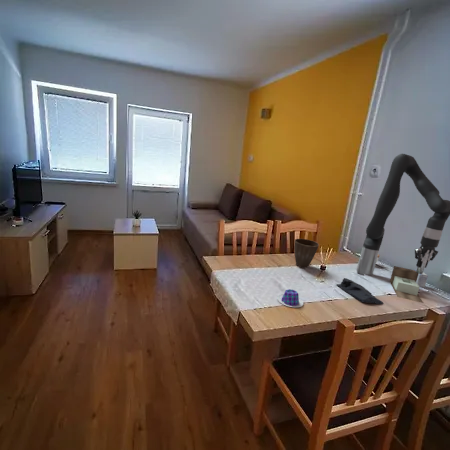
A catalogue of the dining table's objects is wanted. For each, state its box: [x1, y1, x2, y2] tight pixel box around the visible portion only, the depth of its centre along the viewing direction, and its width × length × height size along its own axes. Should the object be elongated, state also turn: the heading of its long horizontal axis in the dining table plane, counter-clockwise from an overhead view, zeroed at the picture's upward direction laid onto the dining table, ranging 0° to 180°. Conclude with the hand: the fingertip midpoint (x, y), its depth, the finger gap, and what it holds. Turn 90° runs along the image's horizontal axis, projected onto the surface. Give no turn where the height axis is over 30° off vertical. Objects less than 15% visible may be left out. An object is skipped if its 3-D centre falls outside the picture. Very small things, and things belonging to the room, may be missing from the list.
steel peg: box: [415, 253, 429, 274], centre depth 145 cm, size 3×3×12 cm
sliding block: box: [393, 276, 420, 295], centre depth 152 cm, size 10×10×5 cm
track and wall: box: [389, 265, 425, 304], centre depth 148 cm, size 12×22×11 cm, turn 158°
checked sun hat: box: [277, 288, 304, 308], centre depth 125 cm, size 12×12×5 cm
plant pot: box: [293, 238, 320, 269], centre depth 172 cm, size 15×15×16 cm
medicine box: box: [414, 269, 429, 288], centre depth 162 cm, size 8×4×9 cm, turn 168°
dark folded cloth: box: [336, 277, 385, 305], centre depth 142 cm, size 15×22×5 cm
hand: (421, 266), depth 145 cm, fingers closed on steel peg, 3 cm apart
